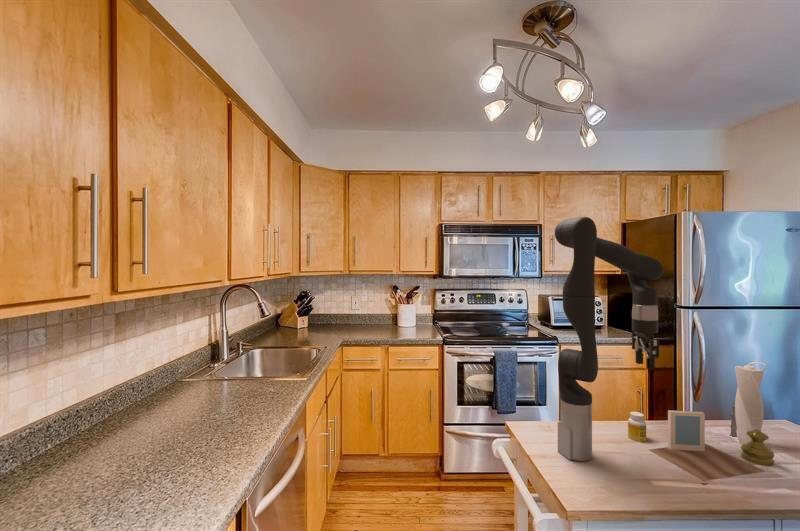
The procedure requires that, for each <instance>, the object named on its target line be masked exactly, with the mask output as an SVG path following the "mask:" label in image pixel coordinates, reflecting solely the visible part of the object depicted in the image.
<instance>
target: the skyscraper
mask: <svg viewBox="0 0 800 531" xmlns="http://www.w3.org/2000/svg"><path fill="white" fill-rule="evenodd" d="M752 364H759V365H763V368H762V369H758V368H756V367H755V366H753V365H752ZM766 367H767V364H766V363H763V362H760V361H752V362H748V364H747V365H746V364H745V365H743V366H740V365H737V366H735V367H734V371H735V376H736V383H737V388H736V392H735V400H734V401H733V402H732V403H733V405H732V412H731V413H730V417H731V420H730V434H729V437H730V436H732V437H737V436H738V437H737V438H738V440H739V444H740V445H741V444H745V443H747V442H750V441H751V438H750V437H749V436H748V435H747V434H746V432H747V431H750V430H759V431H761V432H762V429H763V428H762V427H763V424H764V422H763V421H764V401H763V397H762V394H761V390H760V389H761V385H762V381H763V377H764V372H765V370H766Z"/></svg>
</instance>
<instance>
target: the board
mask: <svg viewBox="0 0 800 531" xmlns="http://www.w3.org/2000/svg"><path fill="white" fill-rule="evenodd" d="M648 451H650V452H652V453H653V454H655V455H656V456H658V457H661V458H662V459H664V460H666V461H667V462H669V463H671V464H673V465H675V466H677V467H678V468H680V469H682V470H683V471H685V472H687V473H689V474H691V475H692V476H694V477H696V478H698V479H699V480H701V481H704V482H705V481H710V480H718V479H725V478H731V477H737V476H744V475H749V474H750V475H751V474H757V473H763V472H764V473H765V470H764V469H762V468H759V467H757V466H755V465H754V464H751V463H750V462H749V463H748V461H746V460H745V461H744V460H742V459H740V458H738V457H736V456H735V455H734V456H733V455H732V454H729V453H727V452H724V451H723V450H721V449H718V448H716V447H715V446H712V445H710V444H708V443H706V442H705V451H689V450H672V449H669V448H668V446H666V447H665V446H664V447H658V448H650V449H648ZM700 484H701V485H703V486H707V485H708V483H702V482H701V483H700Z"/></svg>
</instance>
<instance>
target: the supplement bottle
mask: <svg viewBox="0 0 800 531" xmlns="http://www.w3.org/2000/svg"><path fill="white" fill-rule="evenodd" d="M644 419H645V415H644V414H643V413H641V412H638V411H630V412H629V418H628V419H627V437H628V439H629V440H631V441H634V442H640V443H645V442H647V422H646V420H644Z"/></svg>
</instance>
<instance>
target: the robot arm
mask: <svg viewBox="0 0 800 531" xmlns="http://www.w3.org/2000/svg"><path fill="white" fill-rule="evenodd" d="M595 223H596V222H595V221H594V219H592V218H590V217H588V216H580V217H573V218H572V217H571V218H567V219H563V220H561V221H559V222H558V223H557V225H556V226H555V229H554V238H555V239H556V241H557V243H559V244H560V245H561V246H563V247H566V248H570V249H573V262H572V266H571V269H570V271H569V273H568V275H567V277H566V279H565V281H564V284H563V287H562V310H563V312H564V314H565V317H566V319H567V320H568V322H570V325H571V326H572V327H573V329H574V330H575V332H576V334H577V336H578V339H579V343H580V348H581V350H577V349H572V348H564V349H562V350H561V351H560V353H559V355H558V361H557V372H558V373H557V374H558V391H559V393H560V394H559V395H560V396H559V397H560V410H559V411H560V413H559V414H560V415H559V416H560V421H558V422H557V452H558V453H560V454H561V455H562V456H563V457H565V458H567V460H568V461H579V462H587V461H591V460H592V459H593V395H592V393H591V392H590V391H589V390H588V389H586V388H584V387H583V386H581V384H580V383H578V381H581V382H584V383H593V382H595V381H596V379H597V377H598V374H599V359H598V358H599V357H598V350H597V339H596V338H597V337H596V293H595V292H596V290H595V266H596V265H595V263H596V258H598V259H600V260H602V261H604V262H606V263H608V264H610V265H611V266H614V267H616V268H617V269H620V270H622V271H624V272H625V271H626V273H627V278H628V281H629V284H630V288H631V291H632V309H631V330H632V332H631V349H632V350H634V351H633V352H634V353H635V364H637V365H642V364H644V353H645V356H646V362H645V363H646V364H645V366H646V370H649V371H654V370H655V365H656V363H655V362H656V359H659V358H660V340H659V339H655V338H654V334H658V333H659V309H658V291H657V289H656V288H654V287H651V286H649V285H648V284H647V281H655V280H658V279H660V278H661V277H662V276H663V275H664V270H665V269H664V266H663V264H662V262H661V261H659V260H658V259H656V258H654V257H652V256H649V255H646V254H642V253H639V252H636V251H634V250H632V249H631V248H628V247H626V246H625V245H622V244H620V243H618V242H615V241H612V240H607V239H604V238H601V237H598V230H597V225H596V224H595Z"/></svg>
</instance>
